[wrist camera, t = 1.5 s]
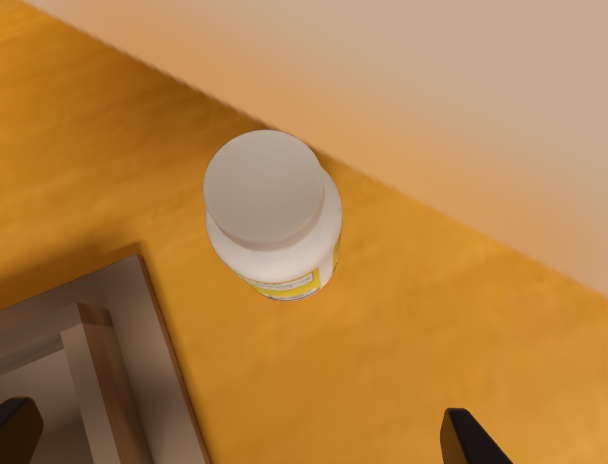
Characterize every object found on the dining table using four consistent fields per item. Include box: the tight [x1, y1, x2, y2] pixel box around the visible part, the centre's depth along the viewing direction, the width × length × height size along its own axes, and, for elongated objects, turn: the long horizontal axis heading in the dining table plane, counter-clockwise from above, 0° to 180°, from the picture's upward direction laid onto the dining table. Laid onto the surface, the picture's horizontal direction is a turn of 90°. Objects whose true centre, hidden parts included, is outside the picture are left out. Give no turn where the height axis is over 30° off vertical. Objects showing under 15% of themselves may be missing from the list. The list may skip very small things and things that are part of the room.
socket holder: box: [0, 254, 211, 464], centre depth 19 cm, size 13×13×4 cm
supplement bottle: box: [203, 130, 343, 301], centre depth 18 cm, size 5×5×10 cm
